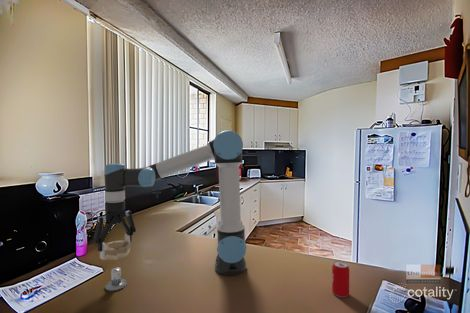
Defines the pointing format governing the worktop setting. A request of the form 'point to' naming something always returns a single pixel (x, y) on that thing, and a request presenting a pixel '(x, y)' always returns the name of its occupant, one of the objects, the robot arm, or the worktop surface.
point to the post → (115, 280)
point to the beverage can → (340, 279)
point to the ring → (116, 250)
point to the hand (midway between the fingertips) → (115, 254)
